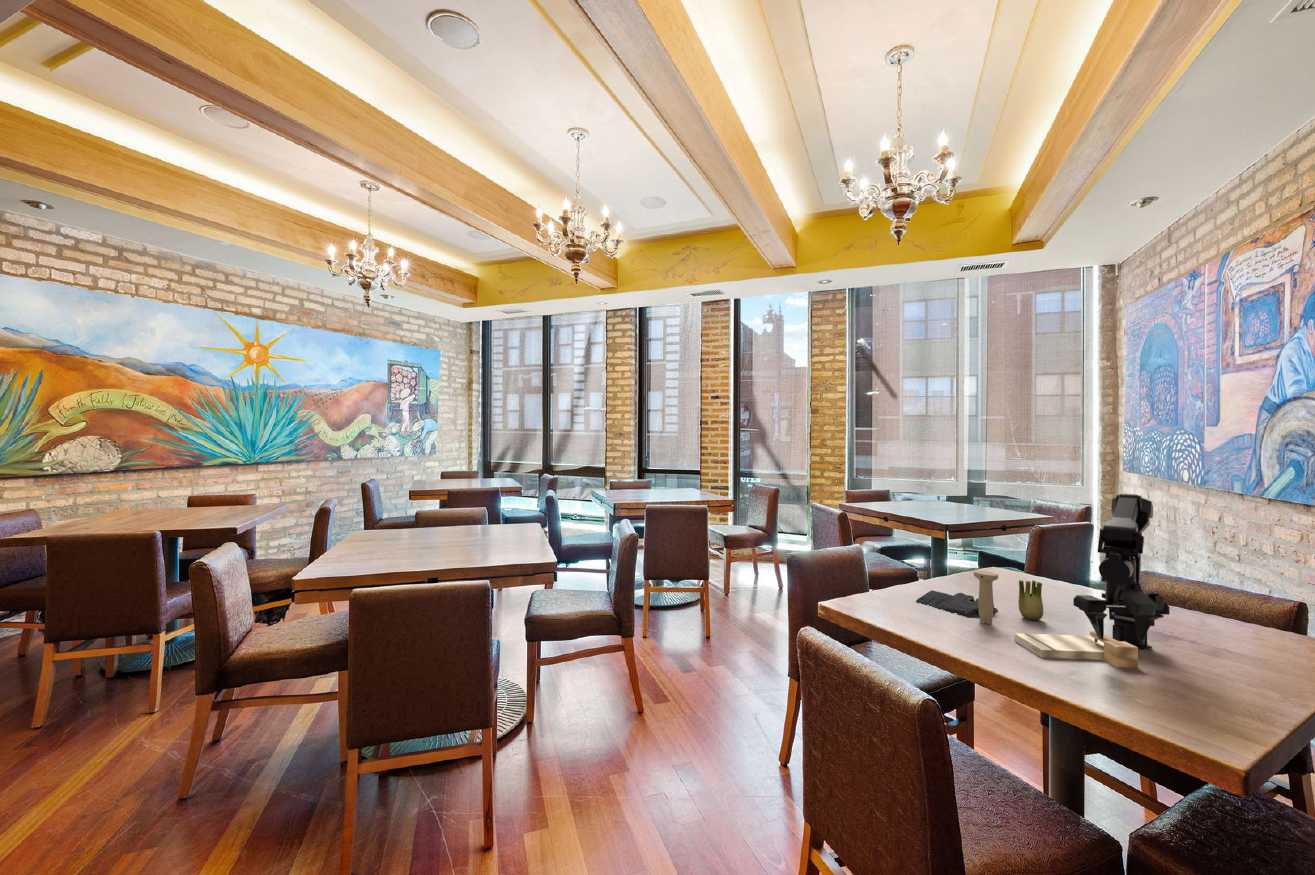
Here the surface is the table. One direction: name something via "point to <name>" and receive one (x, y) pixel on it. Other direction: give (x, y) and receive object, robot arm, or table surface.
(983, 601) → the handle
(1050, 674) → the table surface
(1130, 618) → the robot arm
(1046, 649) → the ash plank
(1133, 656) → the marking gauge
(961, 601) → the dark slate chunk
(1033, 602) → the fennel bulb
